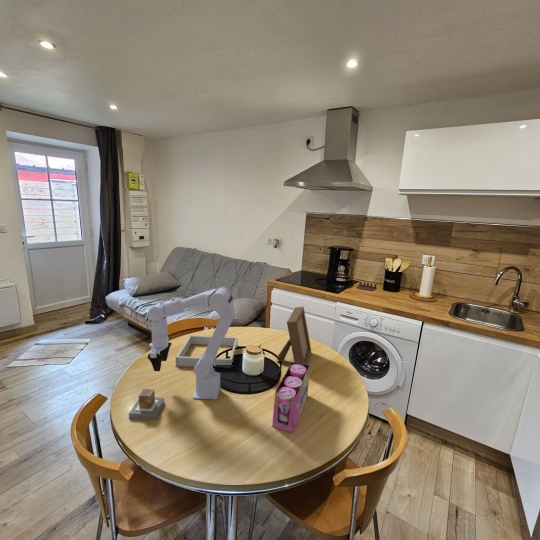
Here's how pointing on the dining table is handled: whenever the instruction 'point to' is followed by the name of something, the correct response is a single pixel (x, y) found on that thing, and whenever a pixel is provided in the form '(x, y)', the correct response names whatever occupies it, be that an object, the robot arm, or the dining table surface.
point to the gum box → (291, 397)
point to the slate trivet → (146, 410)
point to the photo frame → (297, 338)
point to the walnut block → (146, 398)
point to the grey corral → (205, 340)
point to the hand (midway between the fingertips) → (160, 365)
